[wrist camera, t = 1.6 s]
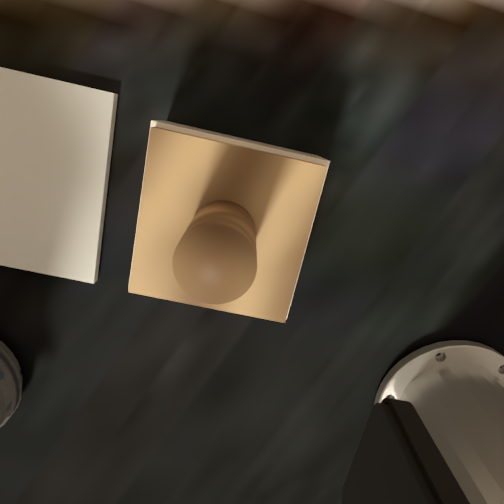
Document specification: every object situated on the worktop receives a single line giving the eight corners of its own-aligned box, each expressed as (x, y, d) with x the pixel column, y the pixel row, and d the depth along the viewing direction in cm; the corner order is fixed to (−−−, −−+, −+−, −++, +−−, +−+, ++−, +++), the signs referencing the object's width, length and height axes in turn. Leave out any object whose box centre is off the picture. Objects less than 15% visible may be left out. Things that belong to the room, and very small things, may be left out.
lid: (323, 164, 25) (352, 181, 18) (283, 314, 28) (294, 377, 21) (155, 126, 24) (117, 128, 17) (133, 284, 27) (93, 340, 20)
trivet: (117, 94, 27) (114, 93, 27) (97, 279, 32) (93, 283, 31) (-94, 45, 26) (-104, 42, 26) (-87, 243, 31) (-95, 246, 30)
